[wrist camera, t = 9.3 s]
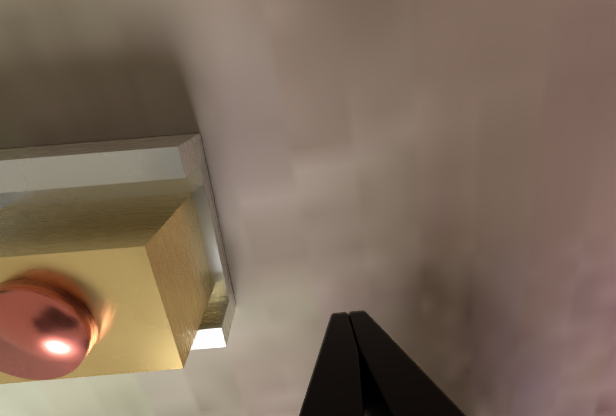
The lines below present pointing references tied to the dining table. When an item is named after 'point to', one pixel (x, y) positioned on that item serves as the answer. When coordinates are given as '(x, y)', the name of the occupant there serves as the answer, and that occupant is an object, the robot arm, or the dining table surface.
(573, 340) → the dining table surface
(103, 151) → the metal bracket
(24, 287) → the button box
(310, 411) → the robot arm
